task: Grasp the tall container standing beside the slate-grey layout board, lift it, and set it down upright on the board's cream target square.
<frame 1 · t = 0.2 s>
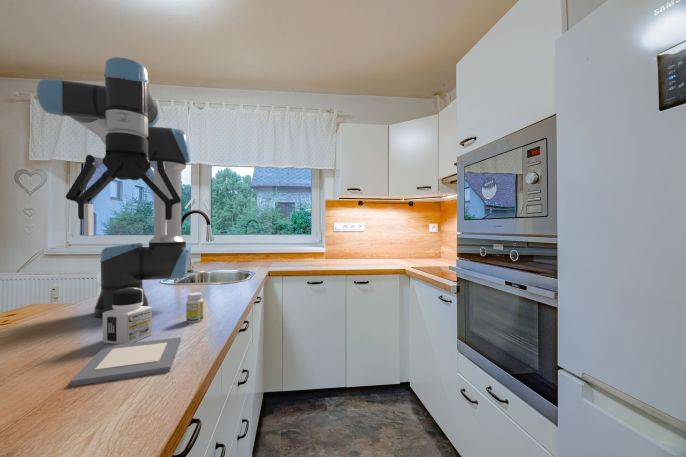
hand: (127, 235, 67), 27 cm above the countertop, fingers open, 13 cm apart
layout board: (134, 359, 68), on the countertop
supplement bottle: (194, 321, 97), on the countertop
container: (128, 339, 81), on the countertop
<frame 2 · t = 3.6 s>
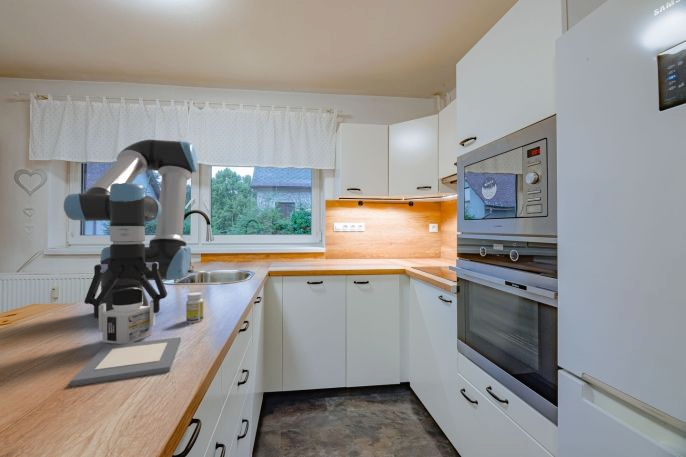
hand: (128, 327, 81), 3 cm above the countertop, fingers closed on container, 10 cm apart
container: (128, 339, 81), on the countertop, touching gripper
everything else where it was.
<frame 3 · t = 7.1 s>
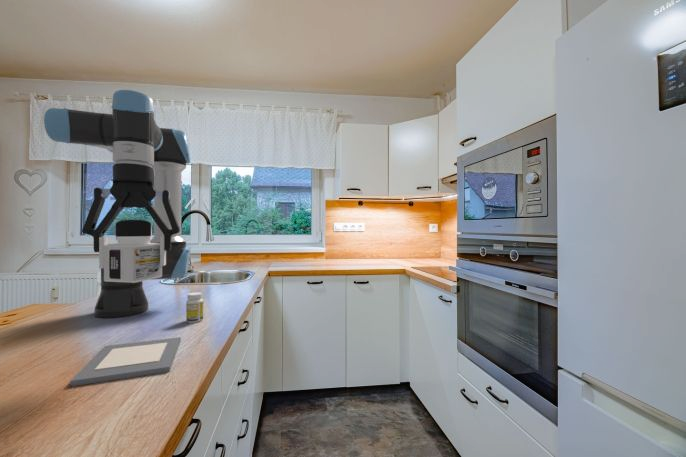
hand: (134, 266, 68), 21 cm above the countertop, fingers closed on container, 10 cm apart
container: (134, 280, 68), point 18 cm above the countertop, touching gripper
everything else where it was.
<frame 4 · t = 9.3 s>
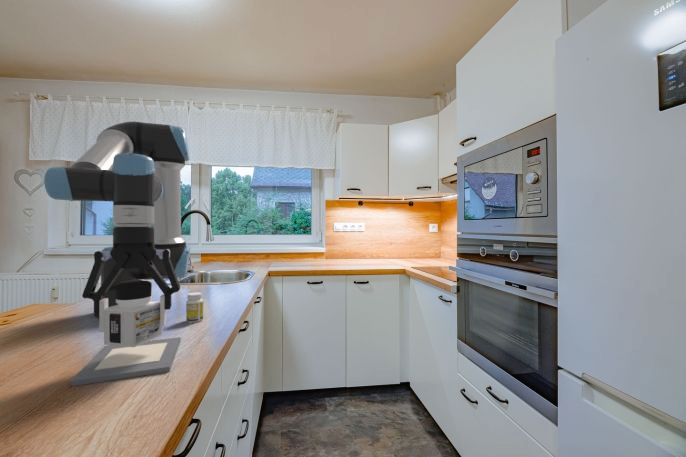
hand: (134, 327, 68), 7 cm above the countertop, fingers closed on container, 10 cm apart
container: (134, 340, 68), point 4 cm above the countertop, touching gripper
everything else where it was.
when the fingers open (5 cm above the countertop, at t = 10.8 s): container drops 1 cm, resting on layout board.
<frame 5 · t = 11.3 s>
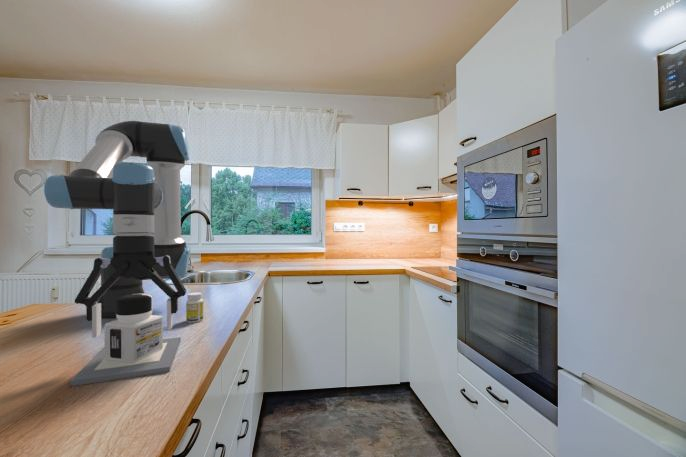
hand: (134, 331, 68), 6 cm above the countertop, fingers open, 13 cm apart
container: (134, 355, 68), point 1 cm above the countertop, touching layout board
everything else where it was.
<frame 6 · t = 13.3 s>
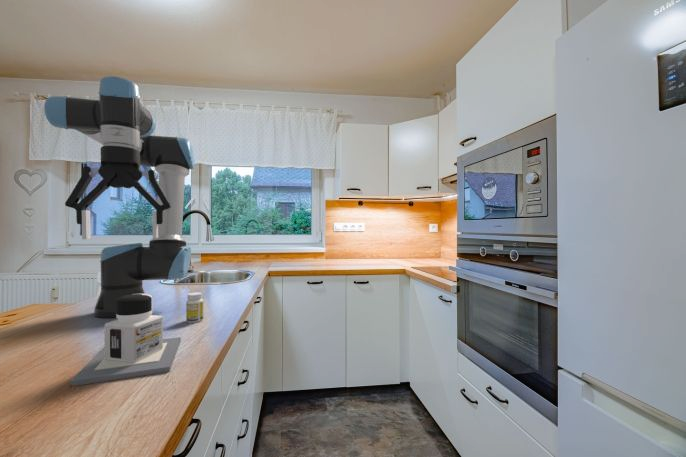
hand: (122, 238, 74), 26 cm above the countertop, fingers open, 13 cm apart
nothing on the countertop moved.
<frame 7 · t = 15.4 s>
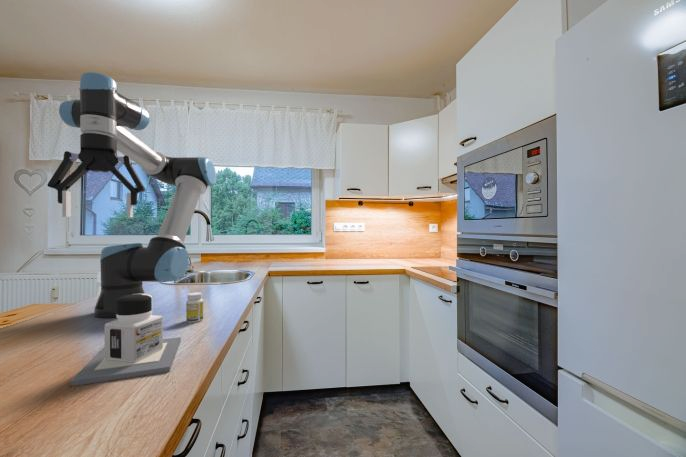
hand: (99, 217, 81), 32 cm above the countertop, fingers open, 13 cm apart
nothing on the countertop moved.
at the end: container inside the target area on the layout board (0.0 cm from its centre), point 1.0 cm above the layout board's base; container tilted 0°; the gripper is holding nothing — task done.
